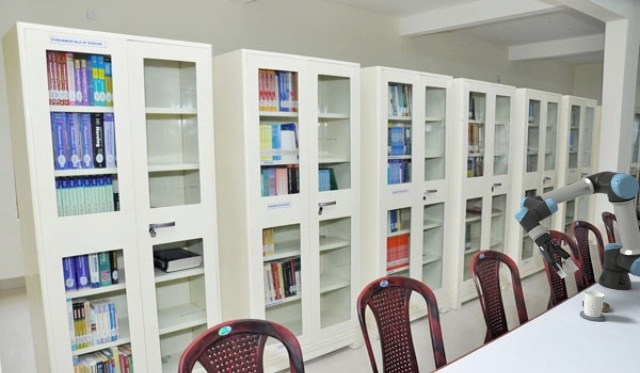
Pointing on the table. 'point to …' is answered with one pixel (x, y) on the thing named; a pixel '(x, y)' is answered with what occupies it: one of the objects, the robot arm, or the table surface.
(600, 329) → the table surface
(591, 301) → the white cup
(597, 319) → the coaster
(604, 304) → the collar
